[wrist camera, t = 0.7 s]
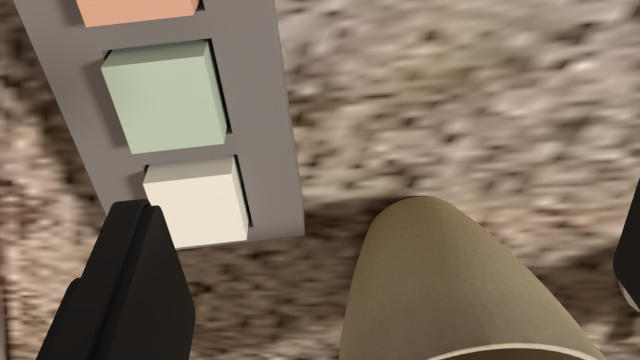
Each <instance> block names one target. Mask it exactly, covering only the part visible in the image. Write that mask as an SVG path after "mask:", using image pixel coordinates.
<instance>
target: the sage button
mask: <svg viewBox="0 0 640 360" xmlns="http://www.w3.org/2000/svg"><path fill="white" fill-rule="evenodd" d="M101 70H102V73H103V76H104V78H105V81H106V84H107V87H108V90H109V92H110V95H111V98H112V101H113V103H114V106H115V109H116V112H117V114H118V117H119V120H120V123H121V125H122V128H123V131H124V134H125V136H126V139H127V142H128V145H129V148H130V150H131V153H132V154H138V153H146V152H155V151H164V150H173V149H182V148H191V147H200V146H208V145H217V144H224V141H225V135H226V129H227V123H228V119H227V115H226V110H225V106H224V102H223V97H222V93H221V88H220V84H219V79H218V75H217V71H216V66H215V62H214V57H213V53H212V48H211V44H210V39H209V38H208V39H199V40H190V41H182V42H173V43H164V44H155V45H147V46H138V47H129V48H120V49H113V50H112V52H111V53H110V55H109V56H108V58H107V59H106V61H105V62H104V64H103V65H102V67H101Z"/></svg>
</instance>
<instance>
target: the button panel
mask: <svg viewBox="0 0 640 360" xmlns="http://www.w3.org/2000/svg"><path fill="white" fill-rule="evenodd" d="M13 1H14V3H15V6H16V8H17V10H18V13H19V15H20V17H21V20H22V22H23V24H24V27H25V29H26V31H27V34H28V36H29V38H30V41H31V43H32V45H33V47H34V50H35V52H36V54H37V57H38V59H39V61H40V64H41V66H42V68H43V71H44V73H45V75H46V78H47V80H48V82H49V85H50V87H51V89H52V92H53V94H54V96H55V98H56V101H57V103H58V105H59V108H60V110H61V112H62V115H63V117H64V119H65V122H66V124H67V126H68V129H69V131H70V133H71V136H72V138H73V140H74V143H75V145H76V147H77V149H78V152H79V154H80V156H81V159H82V161H83V163H84V166H85V168H86V170H87V173H88V175H89V177H90V180H91V182H92V184H93V187H94V189H95V191H96V194H97V196H98V198H99V200H100V203H101V205H102V207H103V210H104V212H105V214H106V217H107V215H108V213H109V210H110V208H111V206H112V204H113V203H114V202H117V201H126V200H136V199H148V197H147V194H146V192H145V189H144V186H143V182H144V179H145V176H146V173H147V171H148V168H149V165H150V164H156V163H165V162H174V161H183V160H192V159H201V158H210V157H219V156H227V155H236V159H237V164H238V168H239V173H240V177H241V181H242V186H243V190H244V195H245V199H246V204H247V208H248V212H249V219H248V232H247V240H243V241H234V242H225V243H216V244H207V245H198V246H189V247H180V248H175V250H181V249H190V248H199V247H208V246H217V245H226V244H235V243H244V242H253V241H262V240H271V239H280V238H289V237H298V236H305V222H304V204H303V196H302V189H301V183H300V176H299V169H298V162H297V155H296V148H295V141H294V134H293V127H292V120H291V113H290V107H289V100H288V93H287V86H286V79H285V72H284V65H283V58H282V51H281V44H280V37H279V31H278V24H277V17H276V10H275V3H274V0H200V1H199V3H198V6H197V8H196V10H195V13H194V15H190V16H182V17H173V18H164V19H155V20H147V21H138V22H129V23H121V24H112V25H103V26H94V27H86V26H85V23H84V21H83V18H82V15H81V12H80V9H79V7H78V4H77V1H76V0H13ZM208 38H209V39H210V44H211V48H212V53H213V57H214V62H215V66H216V71H217V75H218V79H219V84H220V88H221V93H222V97H223V102H224V106H225V110H226V115H227V119H228V123H227V129H226V135H225V141H224V144H217V145H208V146H200V147H191V148H182V149H173V150H164V151H155V152H146V153H138V154H132V153H131V150H130V148H129V145H128V142H127V139H126V136H125V134H124V131H123V128H122V125H121V123H120V120H119V117H118V114H117V112H116V109H115V106H114V103H113V101H112V98H111V95H110V92H109V90H108V87H107V84H106V81H105V78H104V76H103V73H102V70H101V67H102V65H103V64H104V62H105V61H106V59H107V58H108V56H109V55H110V53H111V52H112V50H113V49H120V48H129V47H138V46H147V45H155V44H164V43H173V42H182V41H190V40H199V39H208Z"/></svg>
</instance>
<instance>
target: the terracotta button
mask: <svg viewBox="0 0 640 360" xmlns="http://www.w3.org/2000/svg"><path fill="white" fill-rule="evenodd" d="M76 1H77V4H78V7H79V9H80V12H81V15H82V18H83V21H84V23H85V26H86V27H94V26H103V25H112V24H121V23H129V22H138V21H147V20H155V19H164V18H173V17H182V16H190V15H194V13H195V10H196V8H197V6H198V3H199V1H200V0H76Z"/></svg>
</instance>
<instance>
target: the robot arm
mask: <svg viewBox="0 0 640 360" xmlns="http://www.w3.org/2000/svg"><path fill="white" fill-rule="evenodd" d="M613 267H614V272H615V274H616V276H617V278H618V280H619V288H620V290H621V292H622V294H623V296H624V297H625V299H626V300H627V301H628V303H629V304H630V305H631V306H632V307H633V308H634V309H636V310H637V311H638V312H640V178H639V182H638V185H637V188H636V191H635V194H634V197H633V200H632V203H631V206H630V209H629V212H628V216H627V219H626V222H625V225H624V228H623V231H622V234H621V237H620V240H619V243H618V246H617V250H616V253H615V256H614V260H613ZM194 325H195V307H194V303H193V300H192V297H191V294H190V291H189V288H188V285H187V282H186V279H185V276H184V273H183V270H182V267H181V264H180V261H179V258H178V255H177V252H176V250H175V247H174V244H173V241H172V238H171V235H170V232H169V229H168V226H167V223H166V220H165V217H164V214H163V211H162V209H161V207H160V206H159V205H154V206H152V205H151V203H150V202H149V200H148V199H136V200H126V201H117V202H114V203H113V204H112V206H111V208H110V210H109V213H108V215H107V217H106V220H105V222H104V224H103V227H102V229H101V231H100V234H99V236H98V238H97V241H96V243H95V245H94V248H93V250H92V252H91V255H90V257H89V260H88V262H87V264H86V267H85V269H84V271H83V274H82V276H81V278H76V279H75V280H73V281H72V282H71V283H70V285H69V287H68V288H67V290H66V293H65V295H64V297H63V299H62V302H61V304H60V306H59V308H58V311H57V313H56V315H55V317H54V320H53V322H52V324H51V326H50V329H49V331H48V333H47V335H46V338H45V340H44V342H43V344H42V347H41V349H40V351H39V353H38V356H37V358H36V360H189V354H190V349H191V343H192V337H193V331H194Z"/></svg>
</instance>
